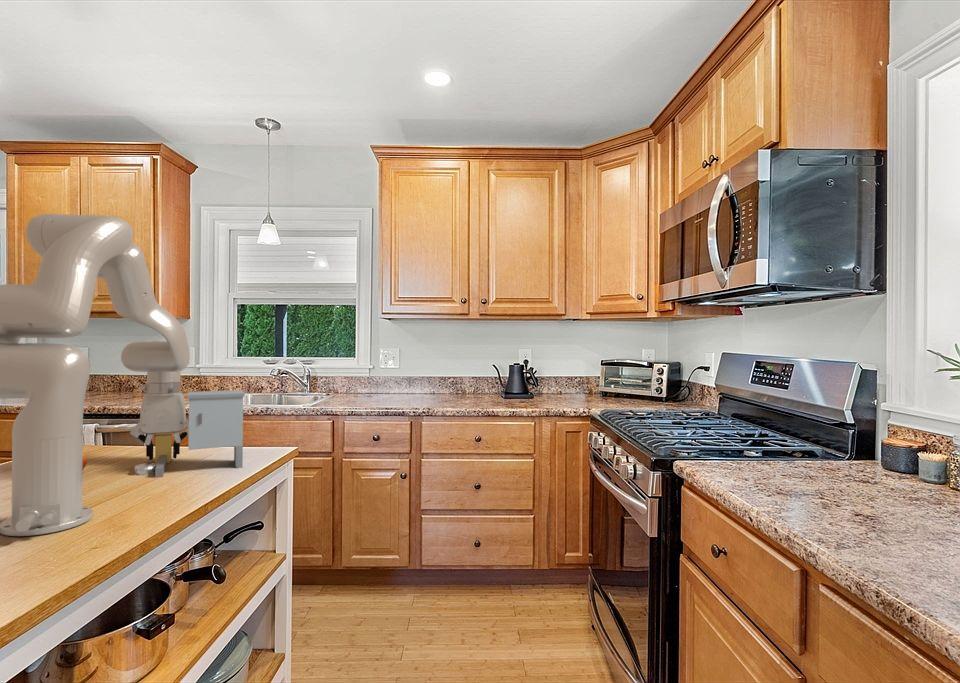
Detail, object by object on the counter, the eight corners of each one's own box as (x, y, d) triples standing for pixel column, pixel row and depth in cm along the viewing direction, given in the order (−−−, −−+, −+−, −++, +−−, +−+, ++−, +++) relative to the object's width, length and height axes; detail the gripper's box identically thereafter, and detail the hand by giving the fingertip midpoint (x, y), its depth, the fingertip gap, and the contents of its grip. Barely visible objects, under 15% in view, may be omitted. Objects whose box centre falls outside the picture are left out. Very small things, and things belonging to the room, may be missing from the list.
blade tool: (167, 476, 122) (168, 446, 122) (150, 477, 121) (150, 447, 121) (171, 459, 139) (171, 433, 139) (156, 460, 137) (156, 434, 137)
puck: (156, 474, 124) (156, 466, 124) (133, 476, 122) (133, 468, 122) (157, 470, 128) (157, 462, 128) (135, 472, 126) (135, 464, 126)
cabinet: (243, 467, 131) (244, 393, 131) (186, 473, 125) (187, 395, 125) (241, 460, 139) (242, 390, 139) (187, 465, 133) (188, 391, 133)
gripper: (122, 391, 128) (122, 464, 129) (200, 389, 137) (199, 458, 137) (126, 388, 135) (126, 458, 135) (200, 386, 143) (199, 452, 143)
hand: (163, 457), depth 136 cm, fingers open, 4 cm apart
